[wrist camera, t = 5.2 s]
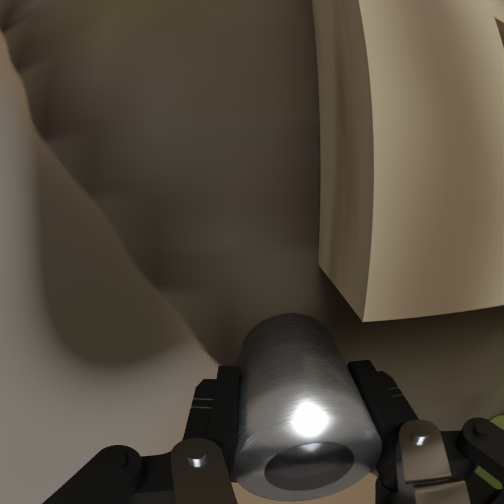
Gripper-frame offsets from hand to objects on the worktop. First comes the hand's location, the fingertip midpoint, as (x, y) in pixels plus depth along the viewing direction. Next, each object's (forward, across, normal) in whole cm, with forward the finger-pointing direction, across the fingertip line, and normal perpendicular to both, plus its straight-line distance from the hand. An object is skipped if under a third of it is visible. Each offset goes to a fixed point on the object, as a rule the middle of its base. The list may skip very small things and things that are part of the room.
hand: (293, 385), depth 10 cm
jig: (+2, -9, -11) cm, 14 cm away
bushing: (+2, 0, 0) cm, 2 cm away
